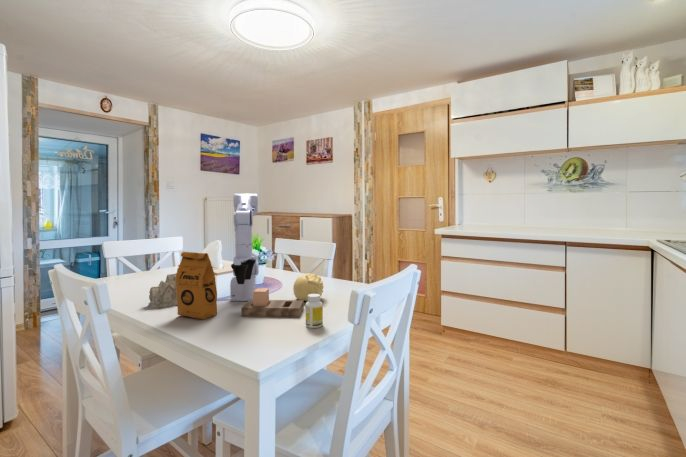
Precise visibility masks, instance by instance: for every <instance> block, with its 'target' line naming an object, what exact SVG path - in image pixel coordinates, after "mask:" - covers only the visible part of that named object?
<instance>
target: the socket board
mask: <svg viewBox="0 0 686 457" xmlns="http://www.w3.org/2000/svg"><path fill="white" fill-rule="evenodd" d="M304 306H305V304H304V300H298V299H297V300H296V299H269V305H268V306H253V300H249V301H246V302H245V304H244V305H242V306H241V307H240V315H241V316H240V317H263V318H264V317H270V318H271V317H272V318H273V317H275V318H278V317H279V318H300V317H301V314H302V312H303V310H304V309H305V308H304Z"/></svg>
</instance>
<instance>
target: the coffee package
mask: <svg viewBox="0 0 686 457" xmlns="http://www.w3.org/2000/svg"><path fill="white" fill-rule="evenodd" d="M180 257H181V260H180V263H179V266H178V268H177V269H178V271H177V270H176V273H177V274H176V273H175V274H176V282H177V306H176V307H177V315H178V316H183V317H189V318H193V319H198V320H206V319H209V318H212V317H214V316H216V315H218V311H217V310H218V309H217V308H218V303H217V302H218V299H217V298H218V291H217V284H216V276H215V272H214V267H213V264H212V262H211V258H210V256H209V253H207V252H194V251H190V252H189V251H182V252H181V253H180Z"/></svg>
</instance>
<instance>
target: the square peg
mask: <svg viewBox="0 0 686 457" xmlns="http://www.w3.org/2000/svg"><path fill="white" fill-rule="evenodd" d="M269 300H270V289H269V288H256V287H255V290H254V291H253V306H268V305H269Z"/></svg>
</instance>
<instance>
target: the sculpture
mask: <svg viewBox="0 0 686 457" xmlns="http://www.w3.org/2000/svg"><path fill="white" fill-rule="evenodd" d="M292 290H293V291H292V292H293V295H294V296H295V298H296V299H297V300H304V301H305V302H308V301H309V300H308V295H309V294H320V297H321V296H322V294H323V292H324V283H323V280H322V277H321V276H319V275H317V274H316V273H311V272H307V273H305V274H302V275H299V277H296V279H295V281H294V282H293V288H292Z"/></svg>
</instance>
